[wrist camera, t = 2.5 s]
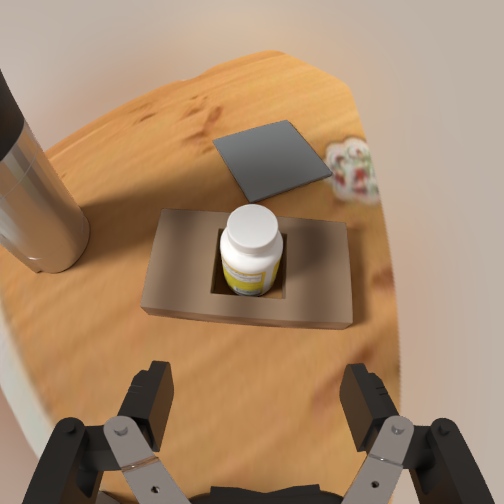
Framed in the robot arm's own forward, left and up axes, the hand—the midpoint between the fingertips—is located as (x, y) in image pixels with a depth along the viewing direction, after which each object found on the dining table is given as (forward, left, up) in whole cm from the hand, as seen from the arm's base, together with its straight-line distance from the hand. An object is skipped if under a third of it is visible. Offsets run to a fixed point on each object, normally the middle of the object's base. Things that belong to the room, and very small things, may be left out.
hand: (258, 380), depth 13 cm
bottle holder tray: (+5, +11, -16) cm, 20 cm away
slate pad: (+15, +25, -16) cm, 33 cm away
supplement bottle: (+5, +11, -16) cm, 20 cm away
